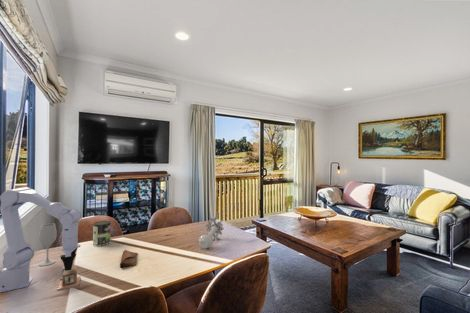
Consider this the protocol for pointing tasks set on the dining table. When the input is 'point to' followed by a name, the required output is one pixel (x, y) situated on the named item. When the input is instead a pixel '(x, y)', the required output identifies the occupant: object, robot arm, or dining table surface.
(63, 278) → the brown cube
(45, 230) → the wineglass
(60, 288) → the coaster
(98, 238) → the coffee can
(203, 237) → the flower vase
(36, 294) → the dining table surface
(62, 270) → the grey block with tabs
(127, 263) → the sunglasses case
